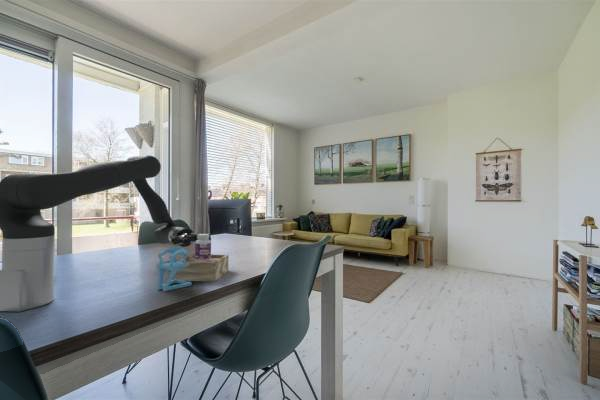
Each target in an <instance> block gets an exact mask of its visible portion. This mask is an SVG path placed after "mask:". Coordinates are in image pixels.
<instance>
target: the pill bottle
mask: <svg viewBox="0 0 600 400" xmlns="http://www.w3.org/2000/svg"><path fill="white" fill-rule="evenodd" d="M197 234H198V236H197V238H198V240H197V241H196V242H195V243H194V244H195V246H194V254H195V262H209V261H210V260H211V255H212V240H211V241H210V240H209V233H204V234H202V233H197Z"/></svg>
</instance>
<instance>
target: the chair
mask: <svg viewBox="0 0 600 400" xmlns="http://www.w3.org/2000/svg"><path fill="white" fill-rule="evenodd" d="M188 252H189V251H187V250H186V249H185V248H184V247H182V246H177V247H174V248H173V247H171V248H166V249H165V250H163V251H161V252H160V253H157V256H158V258H159V264H156V266H155V267H156V269H158V280H157V288H156V290H157V291H160V290H162V292H167V291H172V290H176V289H181V288H186V287H190V286H192V282H193V281H182V280H177V279H174V275H175V274H176V272H177V271H178V270H180V269H181V268H183V267H186V266H189V263H186V257H188V256H187V255H188ZM168 253H169V258H170V260H169V262H164V259H163V257H162V256H164V255H166V254H168ZM178 255H182V256H183V258H182V259H183V262H178V261H179V260H176V259H177V258H176V257H177V256H178ZM166 270H167V271H170V273H169V275H168V278H167V280H166V282H165V283H164V282H163V281H164V275H165V271H166ZM175 283H177V284H175ZM172 284H174V285H172Z"/></svg>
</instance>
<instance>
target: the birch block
mask: <svg viewBox="0 0 600 400" xmlns="http://www.w3.org/2000/svg"><path fill="white" fill-rule="evenodd" d="M177 261H178V262H183V258H182V259H179V260H177ZM186 263H189V266H186V267H183V268H181V269H180V270H178V271H177V272H176V274H175V275H174V277H173V280H174V279H177V280H182V281H187V282H216V281H218V280H219V279H220V278H221V277H223V276H224V275H225V274H226V273H227V272H228V271H229V254H211V260H210V261H209V262H195V253H194V254H191V255H188V256H186Z"/></svg>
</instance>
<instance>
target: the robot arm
mask: <svg viewBox="0 0 600 400" xmlns="http://www.w3.org/2000/svg"><path fill="white" fill-rule="evenodd" d="M161 167H162V165H161V163H160V161H159V159H158V158H157V157H155V156H154V155H149V154H146V155H145V154H144V155H136V156H130V157H128V158H127V159H126V160H111V161H110V160H109V161H99V162H94V163H88V164H86V165H83V166H81V167H80V168H79V169H77V170H73V171H69V172H56V173H42V172H41V173H38V172H37V173H35V172H34V173H12V174H9V175H7V176H5V177H3V178H2V179H1V180H0V230H1V233H2V241H1V245H2V249H1V250H2V251H1V269H0V312H17V313H18V312H23V311H26V310H30V309H35V308H39V307H42V306H45V305H48V304H50V303H51V302H53V301H54V291H55V290H54V287H55V280H54V277H55V239H56V237H55V226H54V224H53V223H51V222H49V221H47V220H45V219H44V218H43V216H42V212H41V211H42V210H43V211H44V210H49V209H51V208H55V207H58V206H60V205H63V204H65V203H67V202H69V201H71V200H74V199H77V198H80V197H84V196H88V195H93V194H96V193H101V192H106V191H108V190H112V189H114V188H118V187H121V186H124V185H126V184H129V183H133V184H134V187H135V189H136V190H137V191H138V193H139V194H140V196H141V198H142V199H143V201H144V204H145V205H146V208H147V210H148V212H149V216H150V217H151V220H152V222H153V223H154V224H156V225H159V224H160V225H162V224H165V225H163V226H161V227H158V228H157V229H155V230H154V232H153V238H154V240H155V241H156V242H157V243H159V244H161V245H162V244H163V245H164V244H172V245H175V246H176V245H177V246H178V247H181V248H185V247H189V246H191V245H192V244H195V242H196V241H197V240H198V238H197V236H198V234H199V233H195V232H194V231H193V230H192V229H191V228H188V227H183V226H178V225H177V224H176V223H175V221H174V220H173V219H172V217H171V215H170V213H169V210H168V206H167V204H166V203H165V201H164V200H163V198H162V197H161V196H160V195H159V194H158V193H157V192H156V191H155V190H154V189H153V188H152V187H151V186H150V185H149V184H150V183H148V181H147V179H152V178H155V177H157V176H158V175H159V174H160V172H161ZM201 234H205V233H201ZM208 234H209V233H208ZM209 240H210V241H211V242H212V237H211V234H209Z"/></svg>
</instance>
